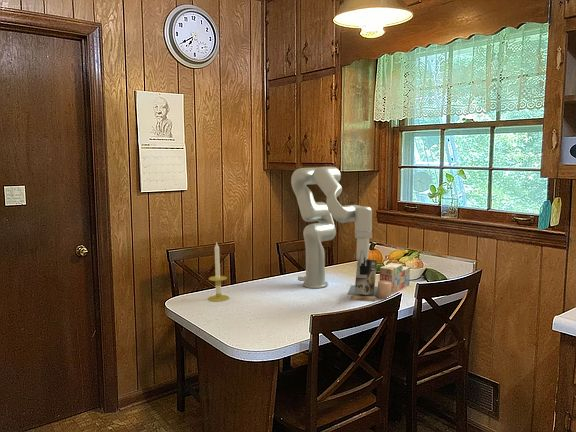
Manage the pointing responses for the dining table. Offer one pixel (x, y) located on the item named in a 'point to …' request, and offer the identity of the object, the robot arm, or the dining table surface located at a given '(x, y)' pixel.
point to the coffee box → (366, 278)
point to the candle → (218, 279)
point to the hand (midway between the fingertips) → (363, 274)
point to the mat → (351, 292)
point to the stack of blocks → (395, 276)
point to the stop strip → (363, 298)
